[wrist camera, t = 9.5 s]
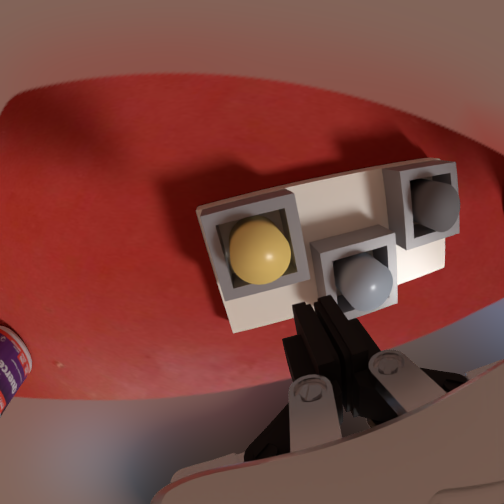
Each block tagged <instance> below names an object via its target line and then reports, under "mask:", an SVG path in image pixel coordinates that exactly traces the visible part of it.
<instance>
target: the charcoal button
mask: <svg viewBox="0 0 504 504" xmlns="http://www.w3.org/2000/svg"><path fill="white" fill-rule="evenodd" d="M410 190H411V201H412V213H413V221H414V222H416V223H419V224H421V225H423V226H426V227H428V228H430V229H433V230H435V231H437V232H445V231H448V230H449V229H450V228H451V227H452V226H453V225H454V224H455V222H456V220H457V218H458V215H459V211H460V200H459V195H458V193H457V191H456V189H455V188H454V187H453V186H452V185H450V184H447V183H442V182H437V181H432V180H427V179H422V178H420V179H415V180H411V181H410Z"/></svg>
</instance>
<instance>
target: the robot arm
mask: <svg viewBox="0 0 504 504" xmlns="http://www.w3.org/2000/svg"><path fill="white" fill-rule="evenodd" d="M317 301H318V302H314V309H313V307H312V306H311V304H307V305H306V303H305V302H301V303H297V304H293V305H292V310H293V315H294V320H295V325H296V331H297V335H295V336H291V337H287V338H283V339H282V341H283V346H284V350H285V354H286V359H287V363H288V366H289V370H290V374H291V377H292V380H293V383H292V385H291V386H290V388H289V403H288V404H287V405H286V406H285V408H284V409H283V410H282V411H281V412H280V413H279V414H278V415H277V417H276V418H275V419H274V420H273V421H272V422H271V423H270V424H269V425H268V426H267V428H266V429H265V430H264V431H263V432H262V433H261V434H260V435H259V436H258V437H257V438H256V439H255V440H254V441H253V442H252V443H251V444H250V445H249V447H248V448H247V449H246V451H245V452H243V453H241V454H238V455H236V454H235V453H232V454H229V455H227V456H224V457H220V458H218V459H214V460H211V461H207V462H204V463H200V464H197V465H193V466H190V467H186V468H183V469H181V470H178V471H177V472H176V473H175V474H174V475H173V477H172V479H171V484H169V485H167V486H165V487H164V488H162V489H161V490H160V491H159V492H158V493H156V495H155V496H154V497H153V499H152V501H151V503H150V504H504V359H503V360H499V361H497V362H494V363H492V364H489V365H486V366H483V367H481V368H477V369H475V370H472V371H469V372H466V373H465V376H462V375H460V374H456V373H450V372H443V371H437V370H430V369H424V368H419V367H418V366H417V365H416V364H414V363H413V362H412V361H411V360H410V359H409V358H408V357H407V356H406V355H404V354H403V353H401V352H399V351H396V350H384V351H380V349H379V348H378V346H377V345H376V344H375V342H374V341H373V339H372V338H371V337H370V335H369V334H368V333H367V331H366V330H365V328H364V327H363V326H362V324H361V323H360V322H359V320H358V319H357V318H353V319H350V320H348V319H347V317H346V316H345V315H344V313H343V312H342V310H341V309H340V307H339V306H338V304H337V303H336V302H335V300H334V299H333V297H332V296H331V295H327V296H323V297H319V298H318V299H317ZM314 310H315V311H314ZM343 406H344V408H345V411H346V412H349V411H351V413H352V415H353V417H357V416H361V417H365V418H366V421H367V423H368V425H369V426H370V428H369V429H366V430H364V431H361V432H358V433H355V434H353V435H350V436H347V437H344V438H342V436H341V431H340V425H341V423H342V422H343Z"/></svg>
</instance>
